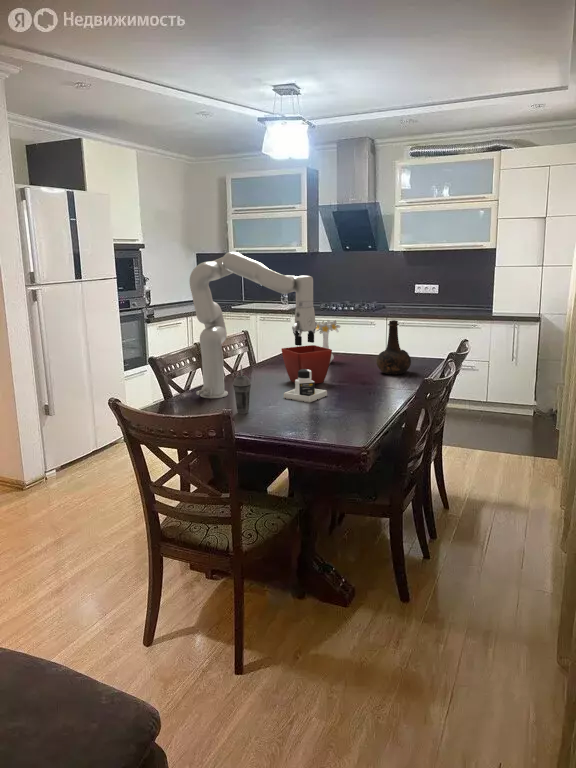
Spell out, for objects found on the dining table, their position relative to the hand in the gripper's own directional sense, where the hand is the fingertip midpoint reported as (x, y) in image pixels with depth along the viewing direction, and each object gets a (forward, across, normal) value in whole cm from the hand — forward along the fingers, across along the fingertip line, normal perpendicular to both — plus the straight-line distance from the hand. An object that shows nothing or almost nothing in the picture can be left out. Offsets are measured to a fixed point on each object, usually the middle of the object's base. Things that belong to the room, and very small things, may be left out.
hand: (304, 343), depth 256 cm
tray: (+24, 0, 0) cm, 24 cm away
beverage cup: (+24, -35, +7) cm, 43 cm away
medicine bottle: (+24, 0, 0) cm, 24 cm away
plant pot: (+24, +26, +17) cm, 39 cm away
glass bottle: (+24, +68, -10) cm, 73 cm away
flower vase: (+24, +74, +37) cm, 86 cm away
